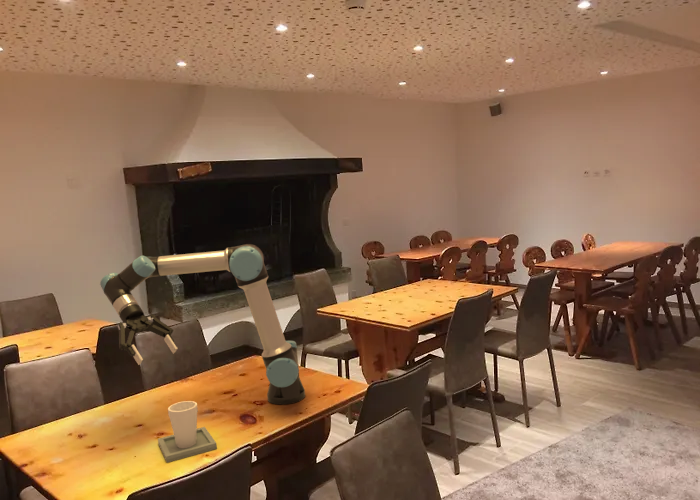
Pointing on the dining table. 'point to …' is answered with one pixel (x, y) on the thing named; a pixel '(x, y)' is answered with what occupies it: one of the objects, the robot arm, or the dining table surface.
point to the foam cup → (184, 422)
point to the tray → (175, 453)
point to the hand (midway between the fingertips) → (158, 356)
